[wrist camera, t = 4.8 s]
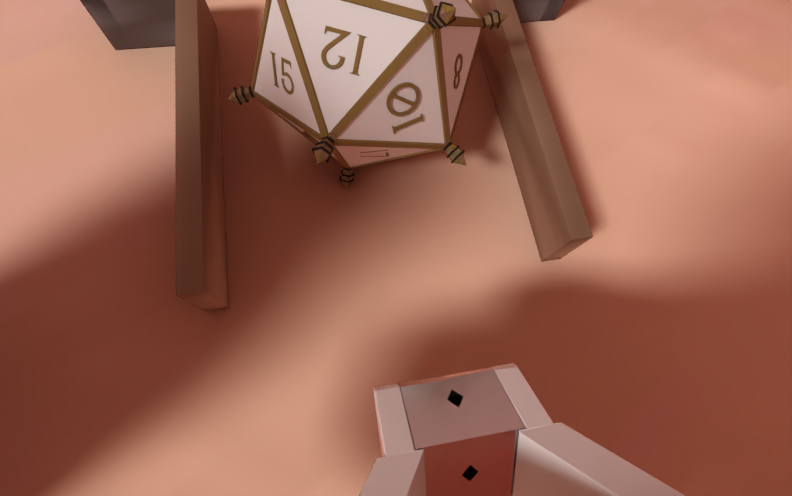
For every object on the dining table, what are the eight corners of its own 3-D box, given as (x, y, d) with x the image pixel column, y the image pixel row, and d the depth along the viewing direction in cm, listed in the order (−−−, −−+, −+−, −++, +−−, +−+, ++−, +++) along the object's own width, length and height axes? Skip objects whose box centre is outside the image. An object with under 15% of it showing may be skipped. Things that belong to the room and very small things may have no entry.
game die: (360, 137, 22) (403, -102, 17) (488, 215, 18) (602, -73, 12) (186, 157, 16) (164, -206, 11) (314, 281, 12) (388, -220, 6)
